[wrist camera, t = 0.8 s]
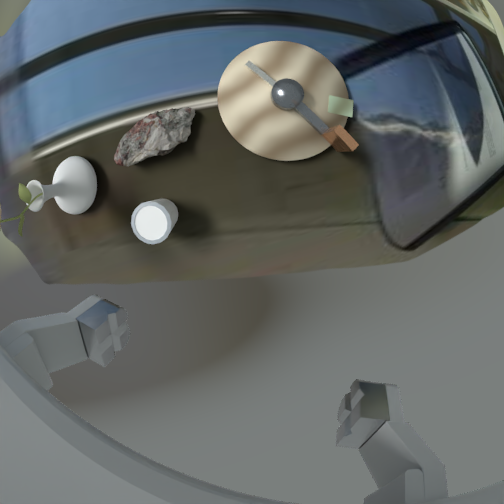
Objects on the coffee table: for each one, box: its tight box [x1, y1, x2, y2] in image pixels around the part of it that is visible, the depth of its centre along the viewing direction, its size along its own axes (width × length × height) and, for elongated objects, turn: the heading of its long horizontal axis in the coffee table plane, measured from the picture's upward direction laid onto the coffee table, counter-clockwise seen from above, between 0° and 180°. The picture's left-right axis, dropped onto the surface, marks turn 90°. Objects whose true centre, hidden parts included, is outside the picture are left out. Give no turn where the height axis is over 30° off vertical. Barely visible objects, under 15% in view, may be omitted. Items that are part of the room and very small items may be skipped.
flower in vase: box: [0, 156, 97, 236], centre depth 32 cm, size 13×11×25 cm
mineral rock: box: [114, 107, 195, 166], centre depth 40 cm, size 15×8×4 cm, turn 101°
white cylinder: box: [131, 199, 178, 244], centre depth 43 cm, size 7×7×7 cm
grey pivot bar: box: [245, 61, 359, 152], centre depth 35 cm, size 21×5×7 cm, turn 47°
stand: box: [218, 41, 353, 161], centre depth 39 cm, size 22×22×2 cm
